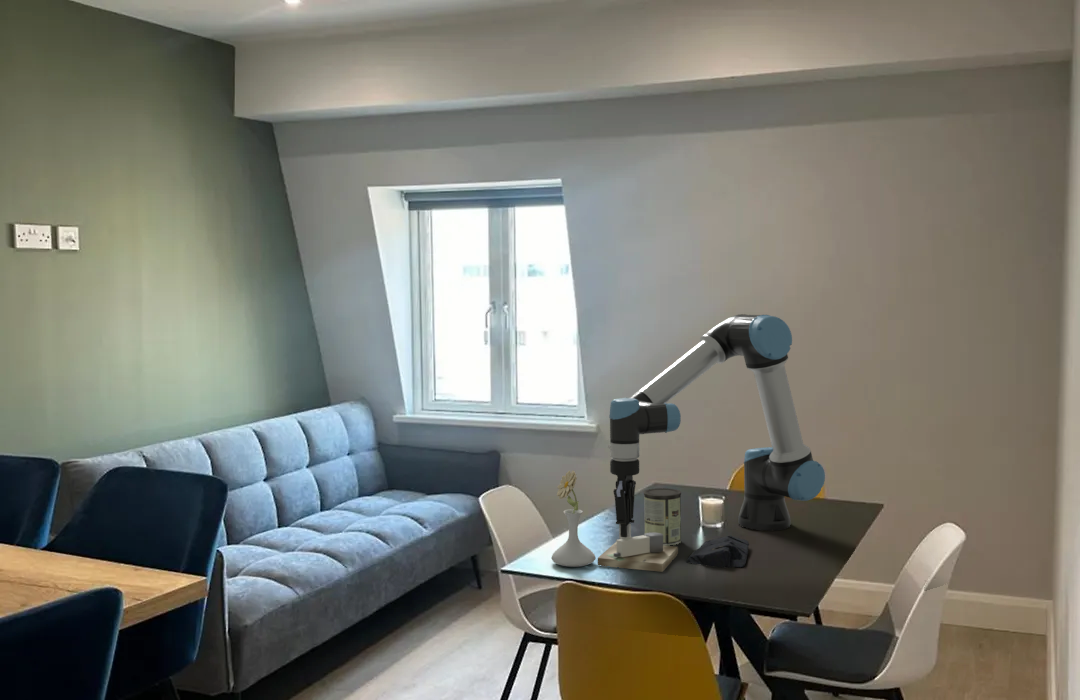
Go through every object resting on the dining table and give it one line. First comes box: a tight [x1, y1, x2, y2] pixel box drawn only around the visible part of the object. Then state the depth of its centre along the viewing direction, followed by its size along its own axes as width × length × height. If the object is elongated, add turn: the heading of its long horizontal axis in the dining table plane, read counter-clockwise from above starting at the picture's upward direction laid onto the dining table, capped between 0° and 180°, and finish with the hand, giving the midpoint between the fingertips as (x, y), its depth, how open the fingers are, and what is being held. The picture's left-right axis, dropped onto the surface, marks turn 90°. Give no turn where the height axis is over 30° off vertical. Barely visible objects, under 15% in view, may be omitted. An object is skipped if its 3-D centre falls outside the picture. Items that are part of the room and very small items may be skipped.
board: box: [597, 541, 679, 573], centre depth 260 cm, size 17×18×2 cm
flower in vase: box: [551, 470, 597, 568], centre depth 255 cm, size 13×11×25 cm
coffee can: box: [643, 487, 682, 546], centre depth 278 cm, size 10×10×14 cm
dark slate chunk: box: [685, 535, 750, 569], centre depth 263 cm, size 15×22×5 cm
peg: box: [614, 532, 663, 557], centre depth 258 cm, size 15×5×4 cm, turn 121°
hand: (625, 548), depth 259 cm, fingers closed
